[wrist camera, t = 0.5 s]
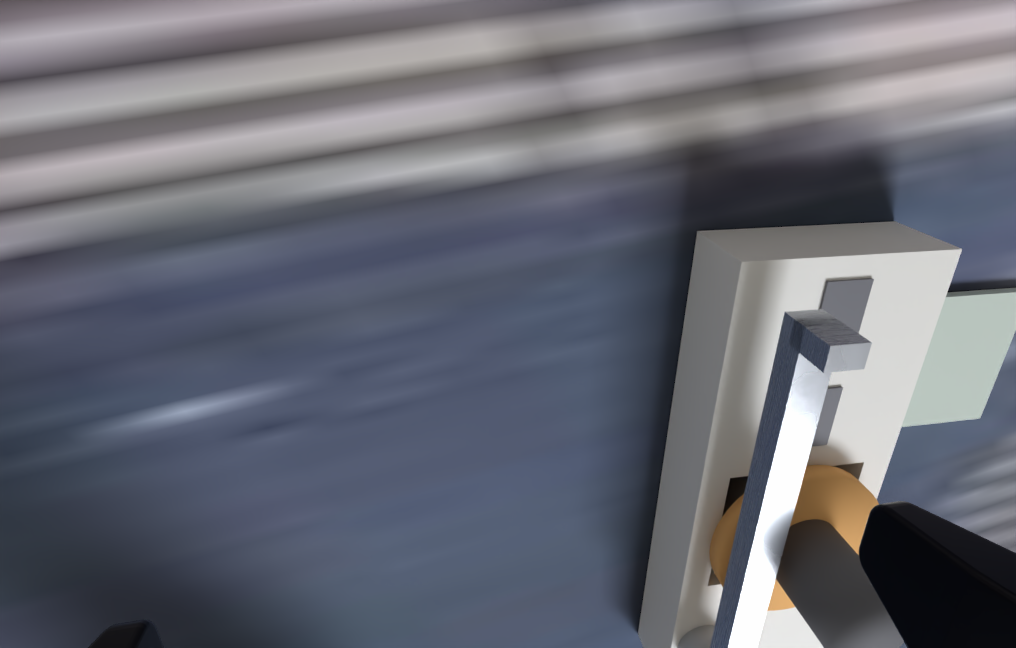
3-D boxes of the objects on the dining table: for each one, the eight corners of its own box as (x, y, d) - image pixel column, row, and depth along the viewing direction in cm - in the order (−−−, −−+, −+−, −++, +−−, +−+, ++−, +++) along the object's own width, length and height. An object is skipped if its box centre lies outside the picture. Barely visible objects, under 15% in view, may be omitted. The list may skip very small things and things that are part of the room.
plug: (796, 523, 29) (929, 687, 22) (663, 540, 28) (759, 719, 21) (828, 405, 26) (993, 550, 19) (683, 419, 25) (801, 579, 18)
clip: (736, 687, 26) (763, 739, 24) (690, 695, 26) (714, 748, 24) (834, 308, 19) (885, 341, 17) (772, 312, 18) (816, 347, 16)
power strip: (783, 610, 32) (836, 690, 28) (637, 633, 31) (673, 720, 27) (894, 221, 23) (994, 262, 19) (697, 230, 22) (762, 276, 18)
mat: (972, 413, 28) (979, 418, 28) (850, 426, 27) (856, 432, 27) (1022, 287, 25) (1031, 291, 25) (889, 296, 24) (896, 300, 24)
